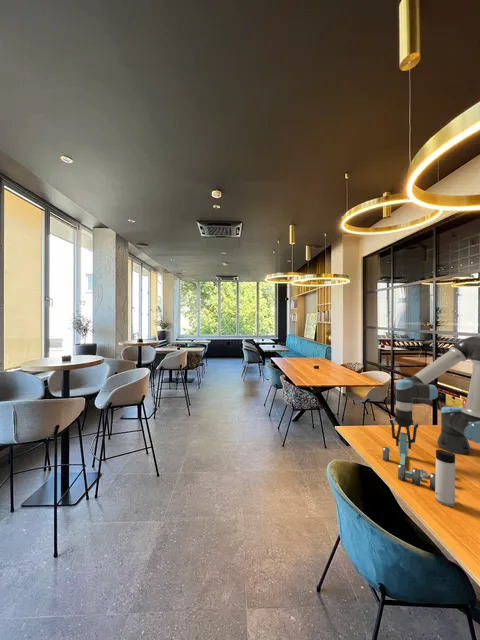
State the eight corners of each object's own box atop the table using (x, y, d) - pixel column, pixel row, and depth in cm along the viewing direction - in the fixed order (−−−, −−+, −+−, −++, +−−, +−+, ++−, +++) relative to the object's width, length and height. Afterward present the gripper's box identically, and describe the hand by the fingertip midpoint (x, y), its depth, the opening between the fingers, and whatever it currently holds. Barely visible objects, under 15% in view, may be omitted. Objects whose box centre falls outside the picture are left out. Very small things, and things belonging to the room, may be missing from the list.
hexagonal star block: (427, 474, 130) (427, 470, 130) (427, 479, 126) (427, 475, 126) (417, 472, 132) (417, 467, 132) (417, 476, 128) (417, 472, 128)
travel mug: (433, 501, 110) (434, 451, 110) (437, 494, 114) (437, 446, 114) (453, 509, 105) (453, 456, 105) (456, 501, 110) (456, 451, 110)
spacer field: (443, 472, 132) (443, 459, 132) (447, 494, 115) (447, 479, 115) (382, 457, 145) (383, 446, 145) (379, 475, 128) (379, 462, 128)
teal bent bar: (400, 454, 149) (400, 432, 149) (421, 459, 144) (421, 436, 144) (397, 474, 129) (398, 448, 129) (422, 481, 124) (422, 454, 124)
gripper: (386, 408, 148) (385, 452, 148) (422, 414, 140) (421, 460, 140) (387, 404, 155) (386, 446, 155) (421, 410, 146) (421, 454, 146)
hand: (403, 453), depth 147 cm, fingers closed on teal bent bar, 3 cm apart
